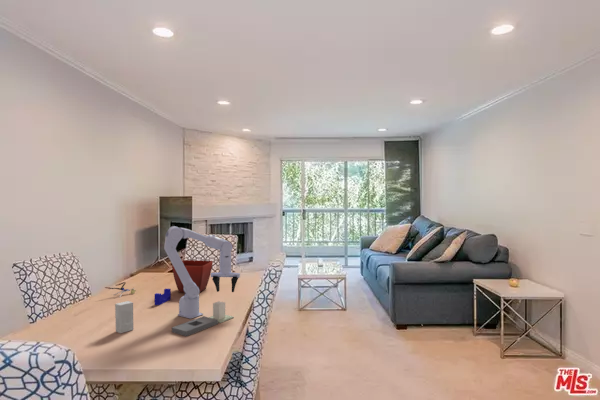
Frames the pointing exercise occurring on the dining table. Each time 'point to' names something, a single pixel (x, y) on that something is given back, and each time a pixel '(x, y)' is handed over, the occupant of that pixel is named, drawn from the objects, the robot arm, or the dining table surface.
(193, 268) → the plant pot
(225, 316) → the mat
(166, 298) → the cable clip
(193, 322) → the gray square hole board
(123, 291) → the figurine
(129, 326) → the skincare box
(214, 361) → the dining table surface
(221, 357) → the dining table surface
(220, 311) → the plug
